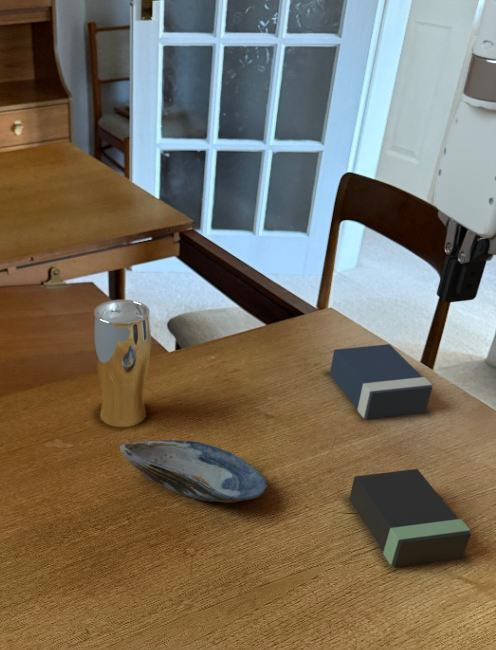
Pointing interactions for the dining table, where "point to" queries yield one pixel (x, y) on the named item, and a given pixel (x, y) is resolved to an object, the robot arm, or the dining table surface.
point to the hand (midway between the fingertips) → (455, 297)
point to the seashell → (196, 470)
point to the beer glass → (122, 359)
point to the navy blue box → (380, 381)
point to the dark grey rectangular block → (408, 518)
